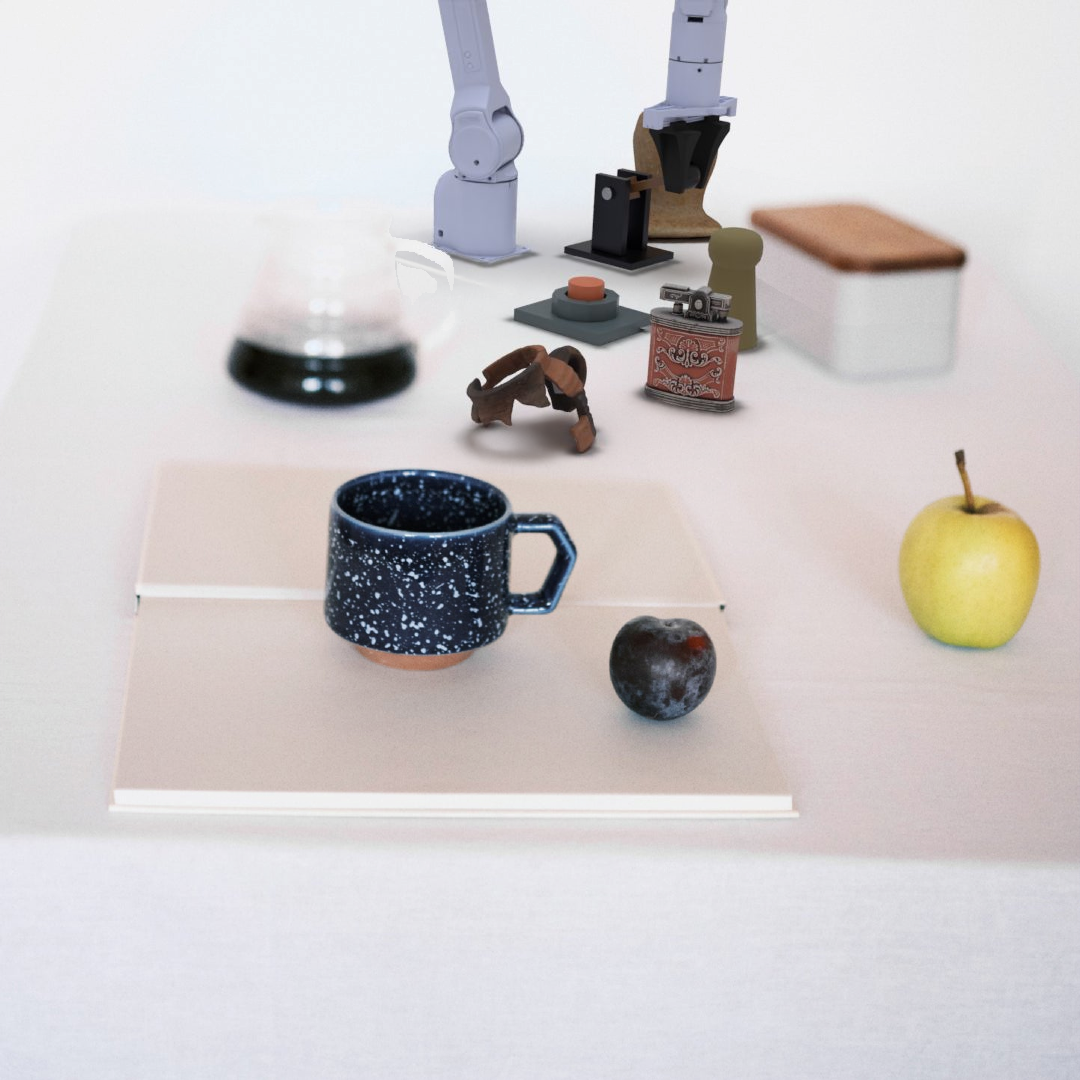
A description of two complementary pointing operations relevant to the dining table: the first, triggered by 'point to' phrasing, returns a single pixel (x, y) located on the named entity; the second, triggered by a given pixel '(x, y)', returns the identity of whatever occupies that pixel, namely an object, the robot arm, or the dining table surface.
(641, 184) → the lever
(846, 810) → the dining table surface
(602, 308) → the button block
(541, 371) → the brown curved pieces
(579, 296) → the button
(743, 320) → the cork
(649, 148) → the tan piece
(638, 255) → the bracket
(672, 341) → the lighter
